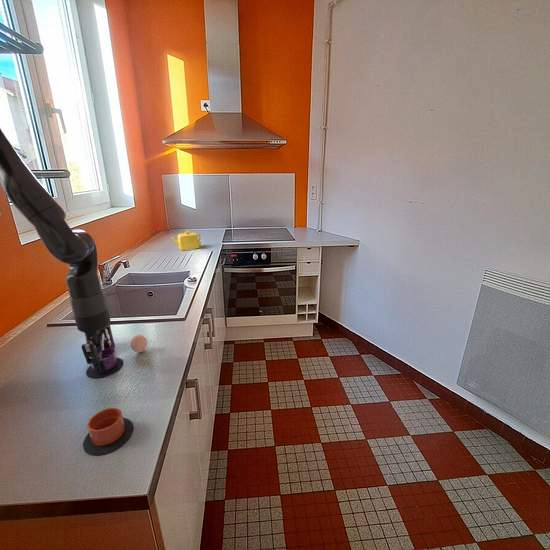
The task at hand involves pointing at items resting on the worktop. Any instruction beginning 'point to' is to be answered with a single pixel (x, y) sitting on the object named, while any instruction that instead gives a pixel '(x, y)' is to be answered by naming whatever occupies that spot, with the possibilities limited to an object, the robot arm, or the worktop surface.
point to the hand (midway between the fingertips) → (104, 364)
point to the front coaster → (109, 448)
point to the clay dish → (106, 426)
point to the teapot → (187, 241)
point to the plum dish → (108, 359)
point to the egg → (138, 343)
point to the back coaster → (92, 374)
